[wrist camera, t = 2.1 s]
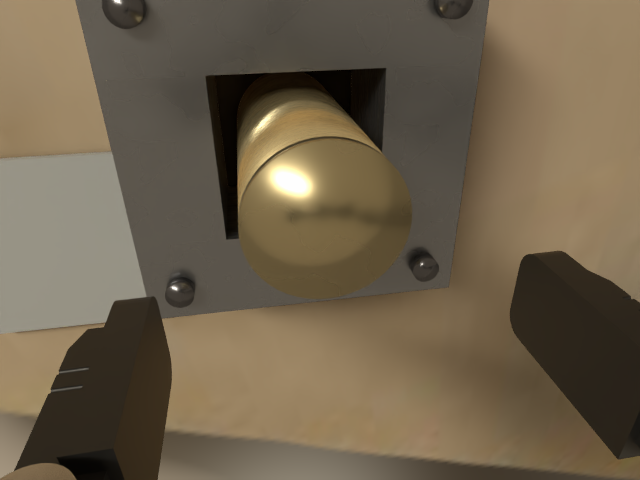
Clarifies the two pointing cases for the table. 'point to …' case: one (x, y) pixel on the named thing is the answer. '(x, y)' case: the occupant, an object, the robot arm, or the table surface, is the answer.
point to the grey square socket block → (271, 57)
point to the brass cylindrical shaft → (314, 191)
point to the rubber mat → (63, 242)
